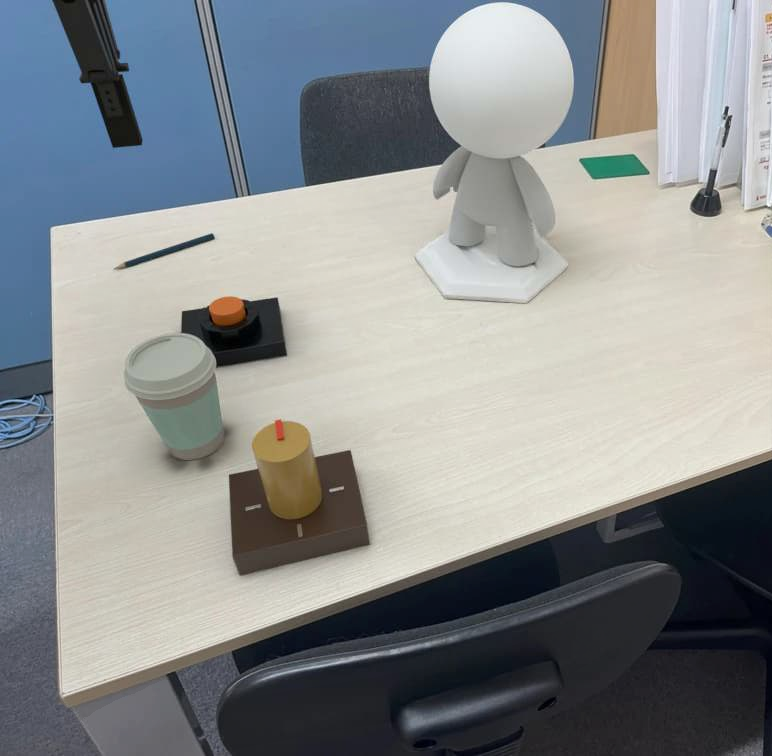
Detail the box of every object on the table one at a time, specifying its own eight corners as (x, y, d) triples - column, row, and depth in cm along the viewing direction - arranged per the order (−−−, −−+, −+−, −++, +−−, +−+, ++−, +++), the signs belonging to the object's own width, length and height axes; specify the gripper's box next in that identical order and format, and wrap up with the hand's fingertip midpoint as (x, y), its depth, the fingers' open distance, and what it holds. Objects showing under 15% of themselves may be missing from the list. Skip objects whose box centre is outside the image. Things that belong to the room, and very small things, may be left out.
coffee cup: (224, 403, 82) (198, 320, 74) (247, 450, 77) (222, 365, 69) (146, 430, 78) (110, 345, 70) (165, 482, 73) (128, 396, 65)
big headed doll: (586, 251, 110) (616, 2, 87) (504, 323, 95) (515, 47, 72) (480, 214, 118) (482, -23, 95) (389, 275, 103) (366, 12, 80)
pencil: (215, 239, 109) (115, 273, 102) (212, 237, 110) (112, 270, 102) (214, 235, 109) (113, 268, 101) (211, 232, 109) (110, 265, 102)
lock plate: (239, 575, 65) (231, 555, 63) (235, 493, 72) (228, 473, 70) (370, 544, 68) (367, 524, 66) (353, 468, 75) (350, 448, 73)
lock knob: (325, 512, 67) (313, 452, 61) (271, 525, 66) (253, 465, 60) (318, 473, 70) (306, 413, 65) (266, 485, 69) (249, 425, 64)
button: (212, 329, 86) (209, 317, 85) (212, 310, 89) (208, 298, 88) (246, 323, 87) (243, 312, 86) (245, 305, 90) (242, 294, 89)
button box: (185, 372, 86) (176, 346, 83) (186, 324, 93) (177, 299, 90) (287, 355, 89) (281, 330, 86) (280, 310, 96) (275, 285, 93)
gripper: (-3, -152, 60) (94, 122, 76) (-39, -133, 51) (79, 175, 67) (94, -152, 62) (169, 116, 78) (76, -133, 53) (165, 166, 68)
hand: (127, 143), depth 72 cm, fingers closed
